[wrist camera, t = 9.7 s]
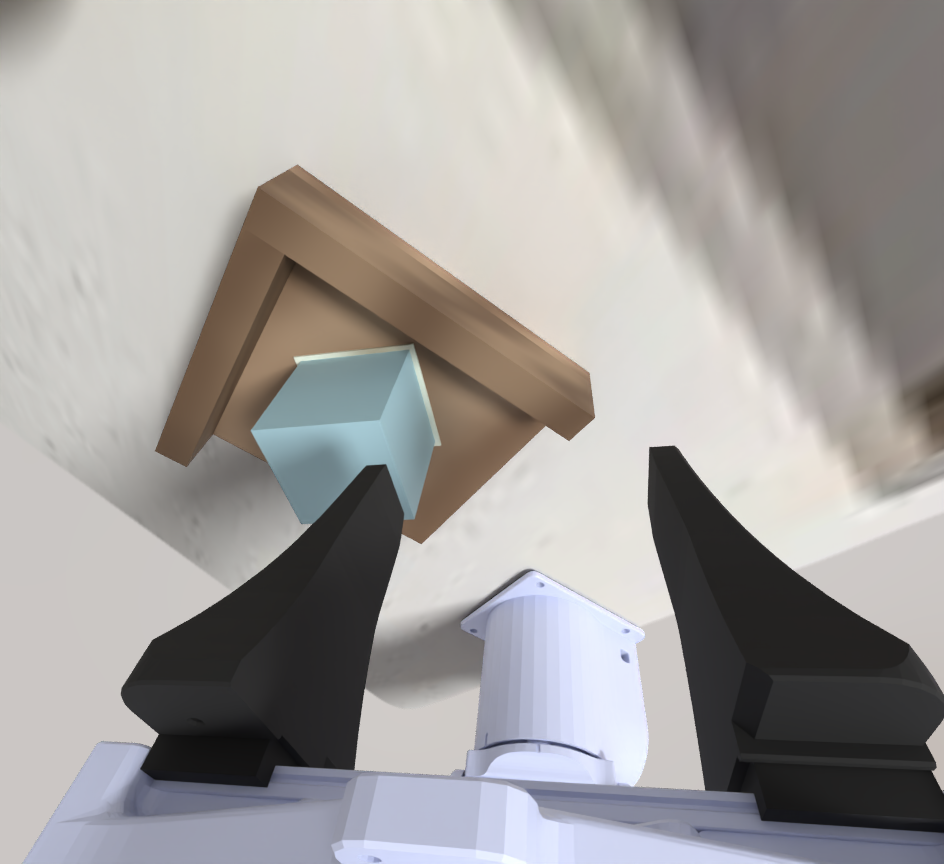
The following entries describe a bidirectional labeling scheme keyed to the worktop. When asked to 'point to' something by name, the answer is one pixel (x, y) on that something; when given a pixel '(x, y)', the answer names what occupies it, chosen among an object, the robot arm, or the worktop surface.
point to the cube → (347, 430)
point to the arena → (368, 342)
